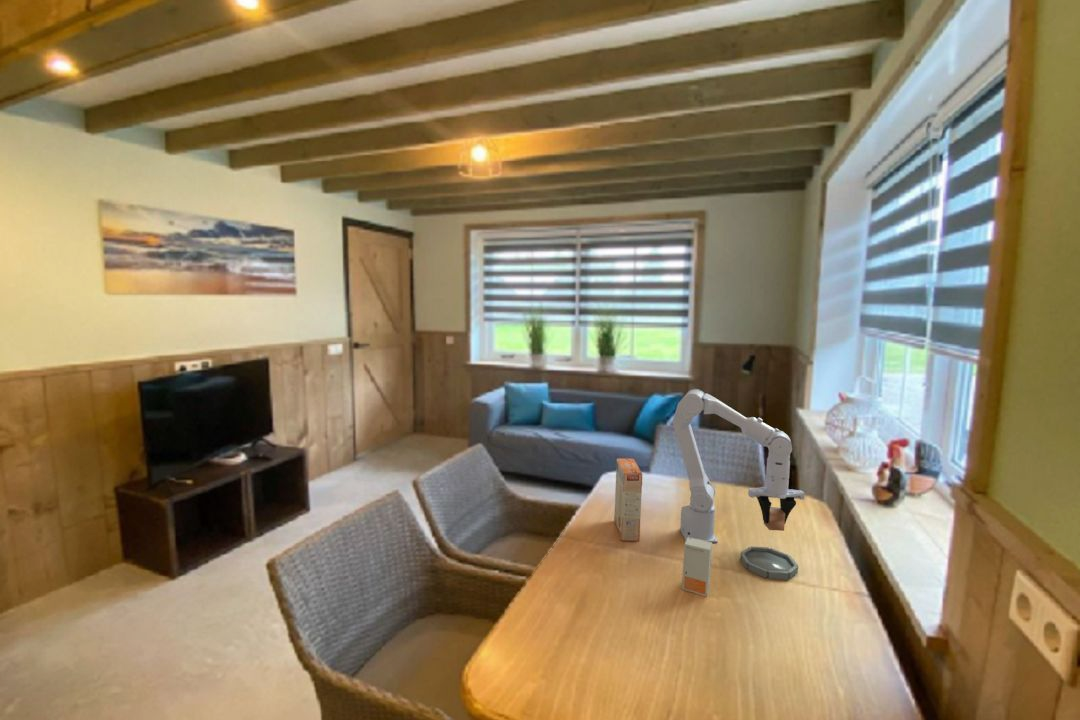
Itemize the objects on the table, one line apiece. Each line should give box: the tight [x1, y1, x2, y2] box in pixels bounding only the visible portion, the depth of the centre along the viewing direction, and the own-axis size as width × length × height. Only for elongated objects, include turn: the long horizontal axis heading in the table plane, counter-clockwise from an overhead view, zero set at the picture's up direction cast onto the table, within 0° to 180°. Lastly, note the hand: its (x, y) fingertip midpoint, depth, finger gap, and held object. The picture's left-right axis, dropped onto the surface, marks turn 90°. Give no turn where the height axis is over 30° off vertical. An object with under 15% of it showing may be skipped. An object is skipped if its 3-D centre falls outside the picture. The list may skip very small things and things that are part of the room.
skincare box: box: [681, 537, 713, 597], centre depth 115 cm, size 6×4×12 cm
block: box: [763, 506, 786, 531], centre depth 134 cm, size 4×4×5 cm
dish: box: [739, 546, 799, 581], centre depth 127 cm, size 13×13×2 cm
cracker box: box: [613, 458, 644, 542], centre depth 145 cm, size 14×6×21 cm, turn 179°
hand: (774, 522), depth 134 cm, fingers closed on block, 4 cm apart
